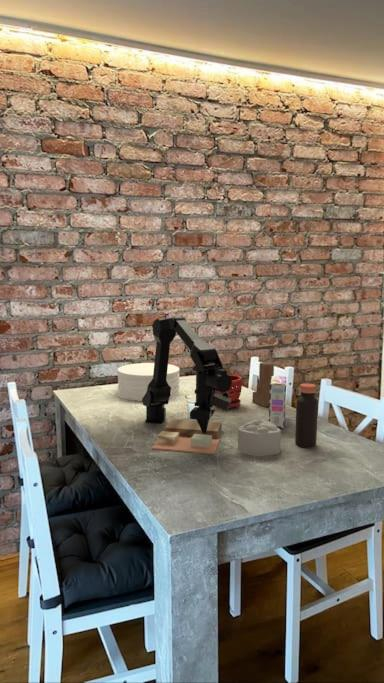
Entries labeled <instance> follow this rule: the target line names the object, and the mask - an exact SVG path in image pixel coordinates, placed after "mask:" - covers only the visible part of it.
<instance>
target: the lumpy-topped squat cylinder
mask: <svg viewBox="0 0 384 683" xmlns="http://www.w3.org/2000/svg"><path fill="white" fill-rule="evenodd" d="M237 431H238V432H237V451H238V452H239V453H240V454H243V455H247V456H254V457H255V456H256V457H261V456H262V457H265V456H273V455H278V454H280V453H281V440H282V435H281V434H282V432H281V431H282V430H281V428H277V427H276V425H274V424H272V423H271V422H269V421H263V422H261V421H260V420H259V419H253V420H252V421H250V422H245V423H244V424H243V425H241V426H239V427H238V429H237Z"/></svg>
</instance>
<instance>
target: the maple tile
mask: <svg viewBox="0 0 384 683" xmlns="http://www.w3.org/2000/svg"><path fill="white" fill-rule="evenodd" d="M178 441H179V433H178V432H167V431H165V430H161V431H160V432H159V433H158V434H157V440H156V442H157V443H160V444H170V445H176V443H177V442H178Z"/></svg>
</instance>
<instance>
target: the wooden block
mask: <svg viewBox="0 0 384 683" xmlns="http://www.w3.org/2000/svg"><path fill="white" fill-rule="evenodd" d="M258 367H259V370H258V372H259V373H258V374H259V375H258V377H259V378H258V389H257V391H252V400H251V402H252V403H254V404H256V405H259V406H261V407H263V408H266V407H267V408H268V407H269V401H270V383H271V378H272V376H275V375H274V374H275V372H274V371H275V364H274V363H272V362H268V361H267V362H259V366H258Z"/></svg>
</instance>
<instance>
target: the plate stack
mask: <svg viewBox="0 0 384 683" xmlns="http://www.w3.org/2000/svg"><path fill="white" fill-rule="evenodd" d="M154 363H155V362H140V363H131V364H126V365H122V366H120V367H118V368H117V390H118V391H117V395H118V396H119V397H120V396H121V397H120V398H122V397H123V399H125V400H129V399H130V401H135V400H138V401H139V402H142V398H143V397H144V395H145V394H146V392H147V388H148V385H149V383H150V382H151V380H152V379H153V373H154ZM166 381H167V383H168V385H169V386H170V387H171V391H170V397H169V400H170V399H173V397H174V398H176V397H177V395H178V396H179V395H180V367H179V366H177V365H174V364H171V363H168V369H167V378H166ZM138 401H137V402H138Z"/></svg>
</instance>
